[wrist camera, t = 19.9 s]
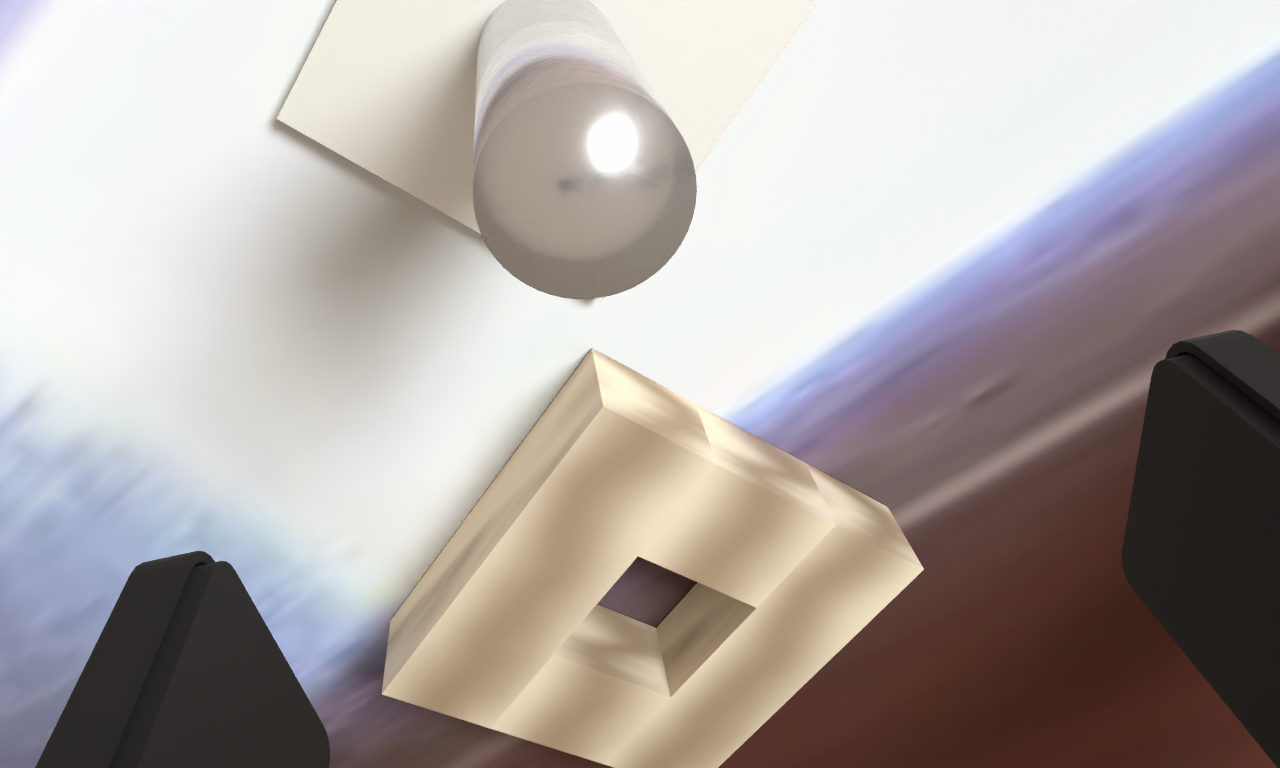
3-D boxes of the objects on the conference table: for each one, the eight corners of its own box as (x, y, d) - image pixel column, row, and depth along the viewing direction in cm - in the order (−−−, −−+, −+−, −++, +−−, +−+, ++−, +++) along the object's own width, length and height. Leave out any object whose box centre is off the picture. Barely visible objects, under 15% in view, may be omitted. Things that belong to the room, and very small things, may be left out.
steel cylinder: (608, -26, 27) (682, 62, 17) (630, 121, 29) (707, 276, 19) (461, 0, 27) (446, 106, 17) (495, 146, 29) (501, 317, 19)
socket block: (887, 507, 41) (923, 569, 37) (677, 721, 46) (692, 792, 43) (591, 348, 34) (603, 406, 31) (390, 620, 40) (381, 694, 37)
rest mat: (810, 1, 29) (816, 5, 28) (599, 294, 33) (601, 302, 33) (476, -273, 24) (476, -275, 23) (279, 113, 28) (276, 118, 28)
